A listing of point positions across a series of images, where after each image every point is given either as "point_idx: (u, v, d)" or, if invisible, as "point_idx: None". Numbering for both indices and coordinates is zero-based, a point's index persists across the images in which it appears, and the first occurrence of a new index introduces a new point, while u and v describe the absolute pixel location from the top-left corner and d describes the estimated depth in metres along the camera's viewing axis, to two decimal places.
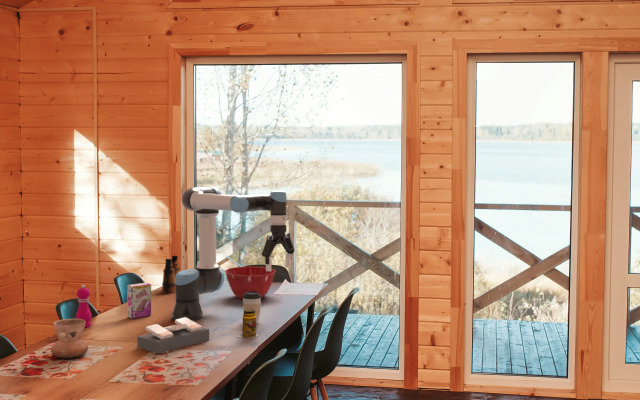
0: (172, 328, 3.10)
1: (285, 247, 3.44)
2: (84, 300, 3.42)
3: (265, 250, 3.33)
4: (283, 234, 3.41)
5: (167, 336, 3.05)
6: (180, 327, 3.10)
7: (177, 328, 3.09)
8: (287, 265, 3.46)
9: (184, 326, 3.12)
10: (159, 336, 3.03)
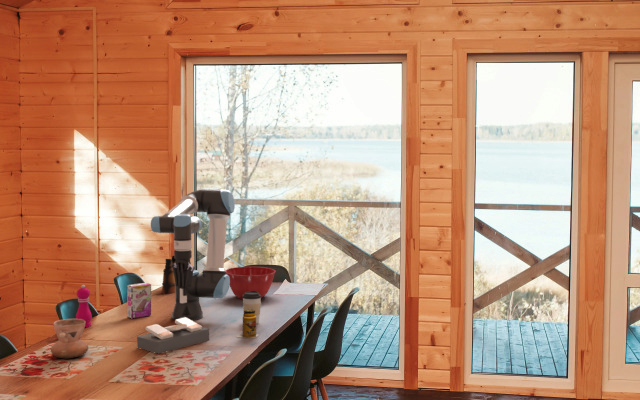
0: (172, 328, 3.10)
1: None
2: (84, 300, 3.42)
3: None
4: (185, 261, 3.18)
5: (167, 336, 3.05)
6: (180, 327, 3.10)
7: (177, 328, 3.09)
8: None
9: (184, 326, 3.12)
10: (159, 336, 3.03)
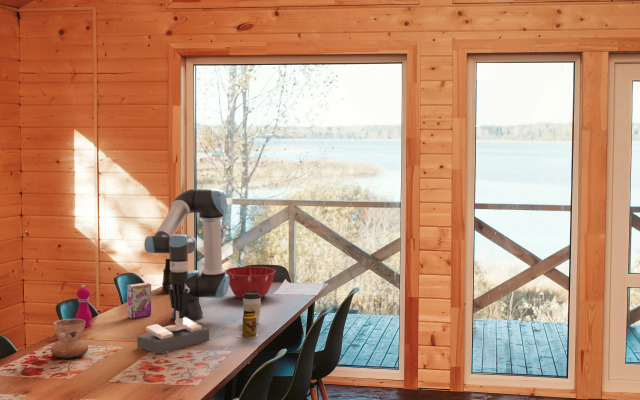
0: (172, 328, 3.10)
1: None
2: (84, 300, 3.42)
3: None
4: (181, 282, 3.08)
5: (167, 336, 3.05)
6: (180, 328, 3.10)
7: (177, 329, 3.09)
8: None
9: (184, 327, 3.12)
10: (159, 336, 3.03)
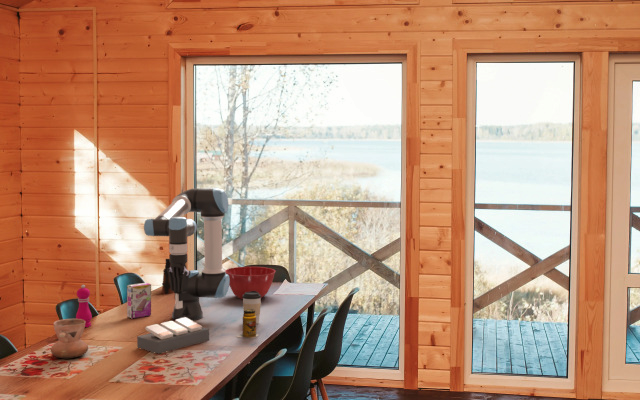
0: (173, 331, 3.10)
1: None
2: (84, 300, 3.42)
3: None
4: (181, 265, 3.07)
5: (167, 336, 3.05)
6: (181, 333, 3.10)
7: (178, 334, 3.09)
8: None
9: (185, 332, 3.12)
10: (159, 336, 3.03)
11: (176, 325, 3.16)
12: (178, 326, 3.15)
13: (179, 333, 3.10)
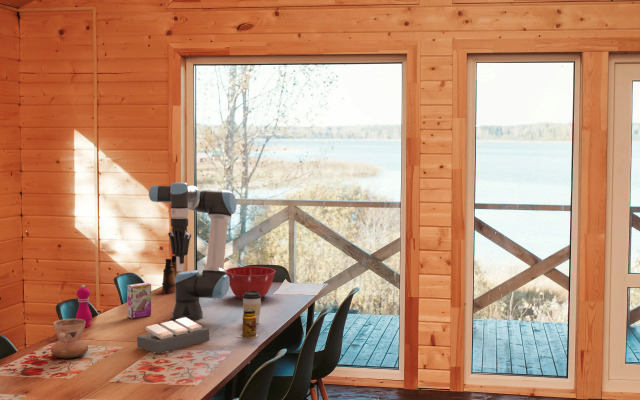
0: (173, 331, 3.10)
1: None
2: (84, 300, 3.42)
3: None
4: (182, 228, 3.18)
5: (167, 336, 3.05)
6: (181, 333, 3.10)
7: (178, 334, 3.09)
8: None
9: (185, 332, 3.12)
10: (159, 336, 3.03)
11: (176, 325, 3.16)
12: (178, 326, 3.15)
13: (179, 333, 3.10)
